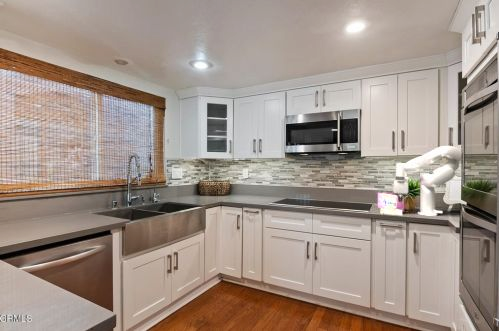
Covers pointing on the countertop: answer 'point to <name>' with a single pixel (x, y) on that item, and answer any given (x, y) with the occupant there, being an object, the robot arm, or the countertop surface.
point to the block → (390, 207)
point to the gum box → (389, 200)
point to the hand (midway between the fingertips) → (400, 202)
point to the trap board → (391, 211)
